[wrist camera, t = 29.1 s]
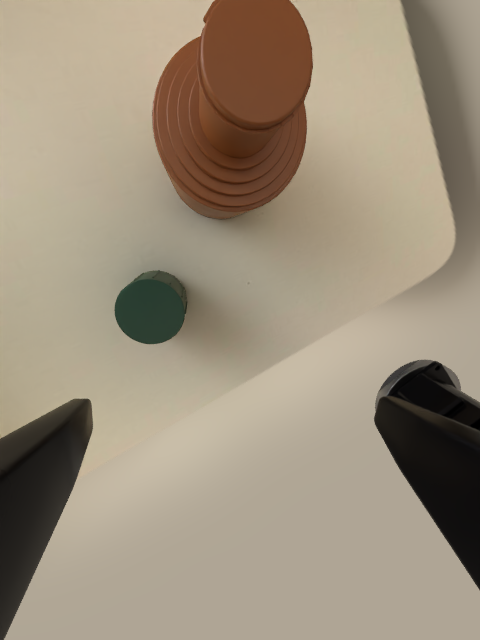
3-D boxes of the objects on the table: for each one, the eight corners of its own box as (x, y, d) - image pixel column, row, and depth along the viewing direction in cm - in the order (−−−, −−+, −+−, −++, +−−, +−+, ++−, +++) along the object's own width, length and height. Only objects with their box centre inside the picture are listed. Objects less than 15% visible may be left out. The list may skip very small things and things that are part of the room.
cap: (159, 258, 19) (152, 264, 16) (198, 302, 21) (198, 316, 17) (116, 295, 20) (99, 308, 16) (156, 335, 21) (148, 356, 17)
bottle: (286, 157, 19) (428, 42, 7) (229, 238, 20) (277, 247, 8) (206, 81, 17) (230, -232, 5) (148, 175, 18) (65, 76, 6)
